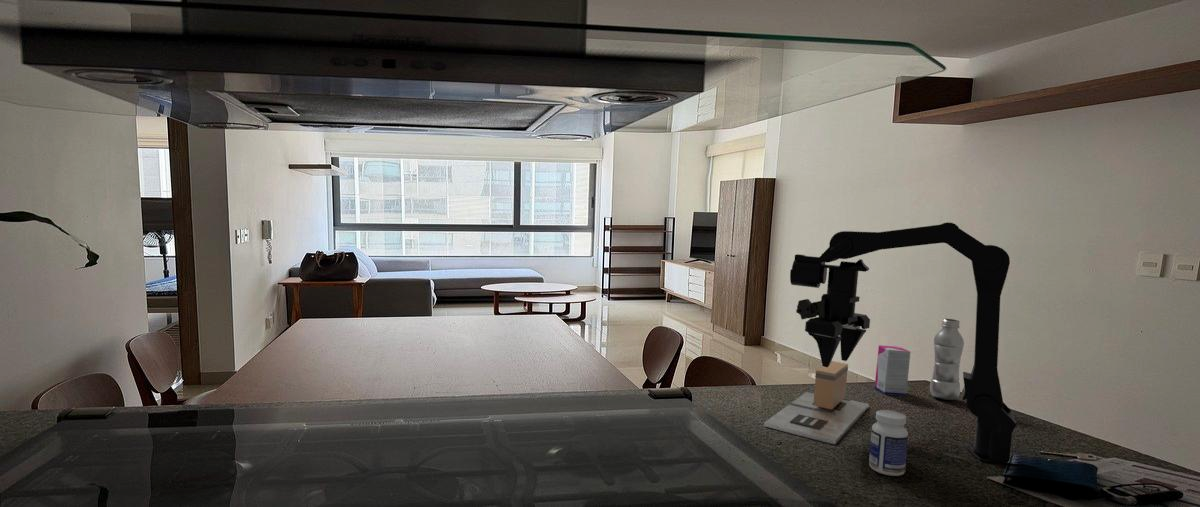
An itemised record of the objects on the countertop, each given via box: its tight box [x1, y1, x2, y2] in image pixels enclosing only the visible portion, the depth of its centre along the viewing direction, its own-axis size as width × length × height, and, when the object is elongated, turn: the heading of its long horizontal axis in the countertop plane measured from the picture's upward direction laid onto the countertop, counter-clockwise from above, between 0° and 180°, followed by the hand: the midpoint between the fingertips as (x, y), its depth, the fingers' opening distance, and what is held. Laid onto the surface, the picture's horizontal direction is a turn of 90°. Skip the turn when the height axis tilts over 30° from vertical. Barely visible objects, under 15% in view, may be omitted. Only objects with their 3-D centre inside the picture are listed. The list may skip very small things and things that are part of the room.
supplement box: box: [874, 344, 911, 396], centre depth 150 cm, size 6×6×12 cm
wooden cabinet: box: [813, 361, 849, 409], centre depth 134 cm, size 4×12×8 cm, turn 144°
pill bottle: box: [868, 409, 909, 477], centre depth 101 cm, size 6×6×10 cm
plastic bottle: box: [929, 318, 965, 401], centre depth 145 cm, size 6×7×20 cm
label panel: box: [763, 389, 870, 446], centre depth 128 cm, size 14×30×1 cm, turn 144°
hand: (835, 363), depth 124 cm, fingers open, 9 cm apart
